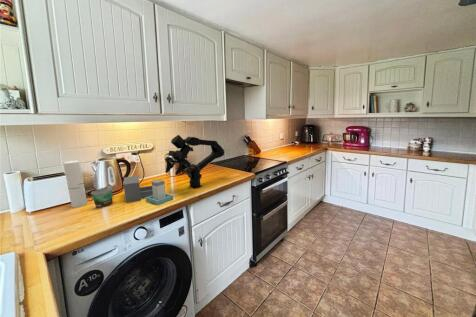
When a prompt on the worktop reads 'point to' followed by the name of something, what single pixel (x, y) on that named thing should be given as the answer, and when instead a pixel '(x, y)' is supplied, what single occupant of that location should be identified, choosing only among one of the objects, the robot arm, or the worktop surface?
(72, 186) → the grey rectangular column
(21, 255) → the worktop surface
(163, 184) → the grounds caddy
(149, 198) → the teal tray
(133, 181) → the coffee machine bay
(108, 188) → the food container
